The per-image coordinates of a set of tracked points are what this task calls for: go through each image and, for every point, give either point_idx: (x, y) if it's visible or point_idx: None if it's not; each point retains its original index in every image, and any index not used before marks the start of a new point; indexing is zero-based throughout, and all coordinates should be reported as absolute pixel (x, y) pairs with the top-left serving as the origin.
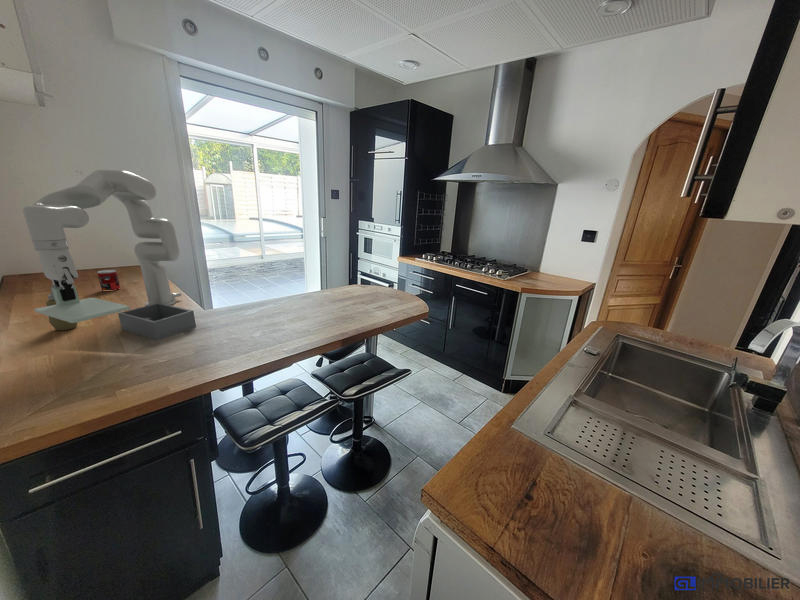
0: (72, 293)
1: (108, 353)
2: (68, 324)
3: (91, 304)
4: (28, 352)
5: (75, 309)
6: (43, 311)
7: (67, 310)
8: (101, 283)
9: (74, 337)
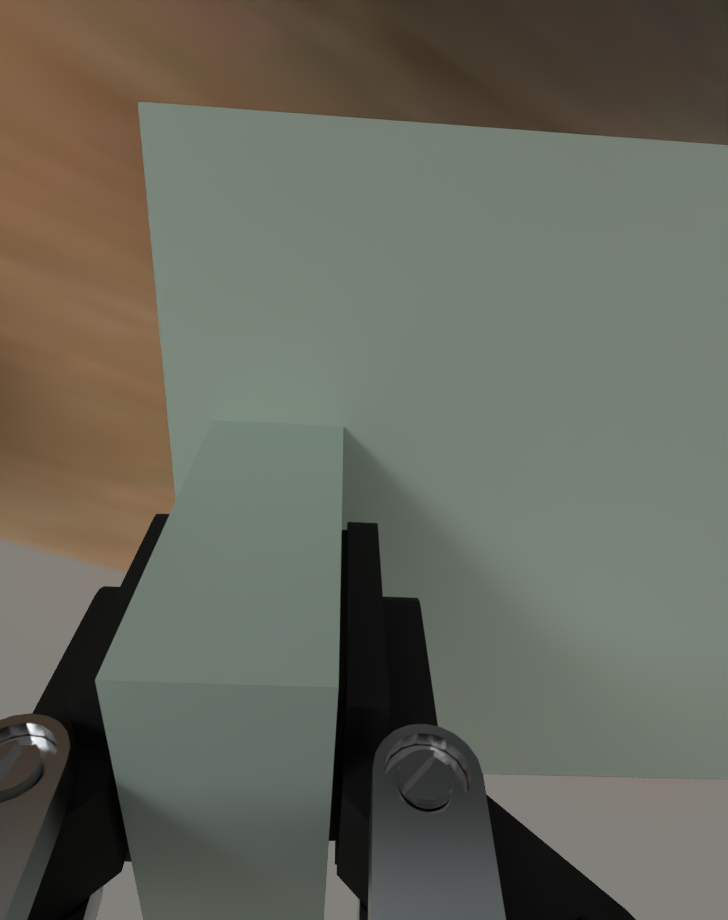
0: (422, 648)
1: None
2: None
3: (679, 423)
4: (115, 495)
5: (693, 626)
6: None
7: (635, 675)
8: None
9: (23, 221)
